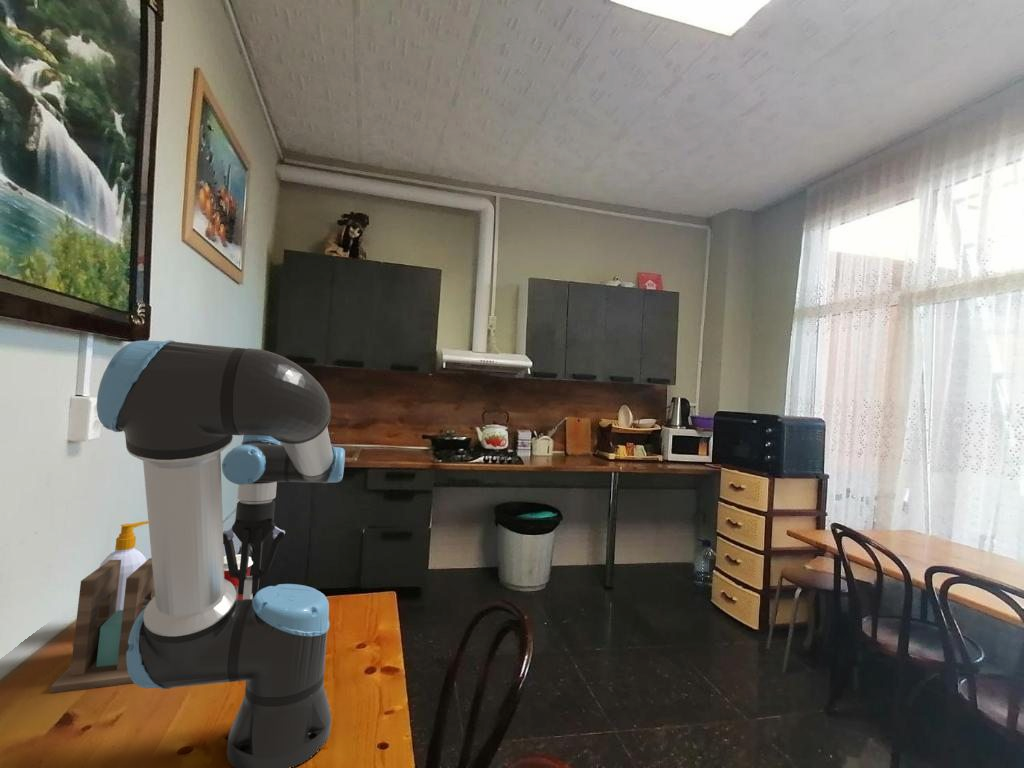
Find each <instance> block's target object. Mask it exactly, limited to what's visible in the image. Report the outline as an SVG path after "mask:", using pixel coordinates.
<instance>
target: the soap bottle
mask: <svg viewBox="0 0 1024 768" xmlns="http://www.w3.org/2000/svg"><path fill="white" fill-rule="evenodd" d="M147 524H148V525H149V523H148V520H147V521H146V520H145V521H144V520H143V521H139V522H134V523H123V524H121V525H120V526H121V531H120V533H119V535H118V537H116V539H115V547H114V548H115V549H114V551H113V552H111V553H109V555H107V556H106V557H105V559H104V560H103V561H102V562H101V563H100V565H99V567H98V568H100V567H101V566H102V565H104V564H105V563H106V562H108V561H109V560H121V567H120V576H119V585H118V594H117V604H116V611H118V610H123V606H124V597H125V588H126V578H128V577H129V576H130V575H131V574H132V573H133V572H134V571H136V570H137V569H138V568H139V567H140V566H141V565H142V564H144V563H145V562H146V561H147V557H145V555H144V554H143V553H142V552H141V551H139V550H138V549H136V540H137V535H135V532H134V528H138V527H140V526H141V527H142V526H143V525H147Z"/></svg>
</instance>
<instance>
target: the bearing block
mask: <svg viewBox="0 0 1024 768" xmlns="http://www.w3.org/2000/svg"><path fill="white" fill-rule="evenodd" d="M99 567H100V566H99ZM99 567H98V568H96V570H94V571H93V572H91V573H90V574H88V575H87V576H85V578H83V579H82V580H80V586H79V594H78V603H77V612H76V622H75V629H74V631H75V632H74V638H73V649H72V656H71V657H72V659H71V665H70V666H69V667H68V668H67V669H66V670H65V671H64V672H63V673H62V674H61V675H60V676H59V677H58V678H56V679H57V680H55V681H54V683H52V685H50V690H49V694H55V693H64V692H70V691H78V690H79V691H80V690H86V689H87V690H88V689H95V688H102V687H104V688H105V687H112V686H119V685H121V686H122V685H127V684H134V683H133V681H132V680H131V678H130V676H129V673H128V670H127V663H126V653H127V651H128V649H129V644H128V640H129V636H130V632H131V629H132V627H133V624H134V622H135V620H136V619H137V617H138V616H139V614H140V613H141V612H142V605H143V599H150V598H153V597H154V596H155V591H154V579H153V568H152V557H151V558H150V557H149V558H148V559H146V562H145V563H144V564H142V565H141V566H140V567H139V568H138V569H137V570H136V571H134V572H133V573H132V574H131V575H130V576H129V577H128V578H126V588H125V597H124V606H123V616H122V625H121V634H120V644H119V653H118V662H117V665H109V666H100V667H96V664H97V655H98V645H99V636H100V627H101V626H102V625H103V624H104V623H105V622H106V621H107V620H108V619H109V618H110V617H111V616H112V615H113V614H114V613H115V612H116V604H117V594H118V585H119V576H120V567H121V560H109V561H108V562H106V563H105V564H104V565H102V566H101V567H100V568H99Z"/></svg>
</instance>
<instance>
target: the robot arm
mask: <svg viewBox="0 0 1024 768" xmlns="http://www.w3.org/2000/svg"><path fill="white" fill-rule="evenodd" d="M96 413H97V417H98V420H99V422H100V423H101V424H102V426H103V427H104V428H105V429H106V430H108V431H109V430H110V431H113V432H114V433H120V432H121V433H122V432H123V433H124V436H125V437H124V438H125V446H126V447H125V448H126V450H127V452H128V453H129V455H131V456H132V457H134V458H137V459H138V460H140V461H142V463H143V466H142V467H143V474H144V488H145V498H146V509H147V511H146V512H147V521H148V523H149V524H148V530H149V531H148V532H149V533H148V534H149V546H150V554H151V555H150V556H151V558H152V568H153V579H154V591H155V596H154V597H153V598H152V599H151V601H150V602H149V603H148V605H147V606H146V608H145V609H144V610H143V611H142V612H141V613H140V614H139V616H138V617H137V619H136V620H135V622H134V624H133V627H132V629H131V632H130V636H129V640H128V644H129V649H128V651H127V653H126V663H127V670H128V673H129V676H130V678H131V680H132V681H133V683H132V684H134V685H136V686H137V687H139V688H141V689H161V690H167V689H168V690H169V689H174V688H183V687H192V686H201V685H202V686H203V685H204V686H205V685H213V684H222V683H234V682H245V689H244V691H245V692H244V697H243V698H242V702H241V703H240V706H239V709H238V711H237V714H236V716H235V718H234V721H233V723H232V724H231V728H230V730H229V732H228V733H229V734H228V738H227V746H226V758H227V761H228V763H229V764H230V765H231V767H233V768H234V767H235V768H289V767H293V766H295V767H298V766H299V764H300V765H301V764H303V762H304V763H305V762H307V761H308V760H310V759H311V758H312V757H311V756H313V755H314V754H315V753H316V752H317V751H318V750H319V749H320V748H321V747H322V746H323V745H324V743H325V742H326V741H327V742H328V740H329V738H328V737H330V735H331V728H332V711H331V707H330V703H329V700H328V699H329V698H328V697H327V691H326V688H325V685H324V681H325V680H324V679H325V669H326V668H325V666H326V656H327V655H326V654H327V653H326V651H327V640H328V631H329V629H330V620H329V617H330V616H329V615H330V613H329V612H330V602H329V600H328V598H327V596H326V595H325V594H324V593H322V592H321V591H320V590H317V589H316V588H314V587H311V586H307V585H303V584H295V583H282V584H281V583H279V584H276V585H269V586H266V587H263V588H261V589H260V590H259V588H260V587H259V586H260V578H261V577H266V576H268V574H269V572H270V570H271V569H270V568H271V566H272V563H273V560H274V557H275V555H276V553H277V549H278V546H279V543H280V542H281V540H283V538H284V536H285V534H286V530H285V529H280V528H279V527H277V524H276V522H275V511H276V510H275V509H276V501H275V500H274V499H276V497H277V486H278V484H277V483H291V482H292V483H322V484H328V483H339V482H341V481H342V480H343V477H344V471H345V470H344V469H345V459H346V451H345V449H344V448H343V447H341V446H340V447H339V446H333V445H332V443H331V438H330V434H329V433H330V432H329V430H328V425H329V423H330V422H331V417H332V410H331V403H330V399H329V397H328V394H327V392H326V391H325V389H324V388H323V386H322V385H321V384H320V382H318V381H317V380H316V378H315V377H314V376H313V375H311V373H309V372H308V371H307V370H305V369H304V368H303V367H301V365H299V364H297V363H295V362H294V361H292V360H290V359H289V358H286V357H285V356H283V355H280V354H278V353H276V352H271V351H269V350H264V349H261V348H259V349H258V348H249V347H248V348H245V347H244V348H241V347H236V346H235V347H234V346H233V347H231V346H225V345H224V346H221V345H211V344H199V343H189V342H180V341H175V340H173V339H169V340H166V341H165V340H164V341H162V340H136V341H132V342H130V343H128V344H126V345H124V346H123V347H121V348H120V349H119V350H118V351H117V352H116V353H115V354H114V355H113V357H112V358H111V359H110V361H109V363H108V365H107V367H106V368H105V370H104V371H103V374H102V376H101V379H100V383H99V386H98V391H97V397H96ZM233 436H243V438H242V442H241V444H240V445H237V446H235V447H234V448H232V449H231V450H229V451H228V452H227V453H226V455H225V456H224V458H223V459H222V458H221V452H222V451H224V450H225V449H226V448H228V446H230V445H231V443H232V442H233V438H234V437H233ZM221 459H222V460H221ZM222 473H223V475H224V477H225V478H226V479H227V480H228V481H229V483H233V484H234V485H238V488H237V498H236V499H237V500H238V501H237V503H236V511H235V520H234V522H233V524H232V526H231V528H229V529H228V530H224V529H223V528H224V526H223V522H224V521H223V494H222V493H223V492H222V490H223V489H222V488H223V487H222ZM271 533H273V534H272V538H273V541H272V543H271V546H270V549H269V551H268V555H267V558H266V560H265V563H264V566H263V568H262V558H263V557H262V556H263V547H264V546H263V545H264V542H265V541H266V540H267V538H268V537H269V536H270V535H271ZM234 536H236V537H237V539H238V540H239V541H240V542H241V545H240V546H241V549H240V550H241V551H240V552H241V553H240V554H241V561H240V570H238V566H237V560H236V555H237V554H236V550H235V545H234V541H233V539H234ZM251 544H254V553H253V564H252V565H253V567H252V575H250V576H247V573H248V572H247V571H248V560H249V556H250V547H251ZM224 551H225V555H224ZM224 556H226V558H227V563H228V569H229V574H230V577H231V578H237V579H238V580H239V586H238V594H239V595H240V594H243V599H241V600H236V590H235V587H234V586H233V584H232V583H231V582H229V581H228V580H226V579H224ZM254 594H255V595H254ZM253 595H254V596H253ZM327 739H328V740H327ZM327 742H326V743H327ZM324 746H325V745H324ZM324 746H323V747H324ZM323 747H322V748H323ZM315 755H316V754H315ZM315 755H314V756H315ZM314 756H313V757H314ZM310 757H311V758H310ZM309 758H310V759H309ZM306 760H307V761H306ZM297 765H298V766H297ZM293 768H294V767H293Z"/></svg>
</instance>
